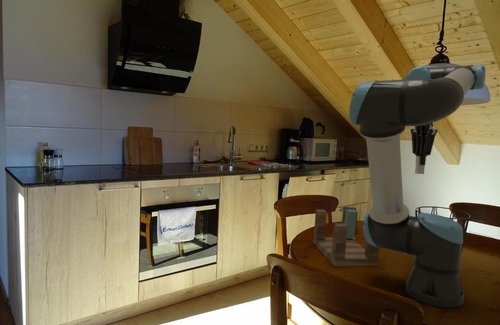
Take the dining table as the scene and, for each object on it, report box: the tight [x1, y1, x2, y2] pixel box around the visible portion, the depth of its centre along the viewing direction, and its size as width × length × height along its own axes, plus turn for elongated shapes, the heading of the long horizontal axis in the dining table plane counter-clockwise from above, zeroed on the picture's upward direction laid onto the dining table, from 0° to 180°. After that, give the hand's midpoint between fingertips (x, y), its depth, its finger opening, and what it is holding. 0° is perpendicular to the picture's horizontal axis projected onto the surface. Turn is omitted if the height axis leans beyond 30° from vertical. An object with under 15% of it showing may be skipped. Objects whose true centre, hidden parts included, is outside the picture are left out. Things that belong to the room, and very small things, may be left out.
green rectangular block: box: [344, 209, 358, 241], centre depth 145 cm, size 4×4×12 cm
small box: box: [341, 206, 359, 235], centre depth 166 cm, size 11×6×10 cm, turn 168°
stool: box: [313, 208, 380, 267], centre depth 135 cm, size 24×16×14 cm, turn 7°
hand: (419, 173), depth 131 cm, fingers closed
